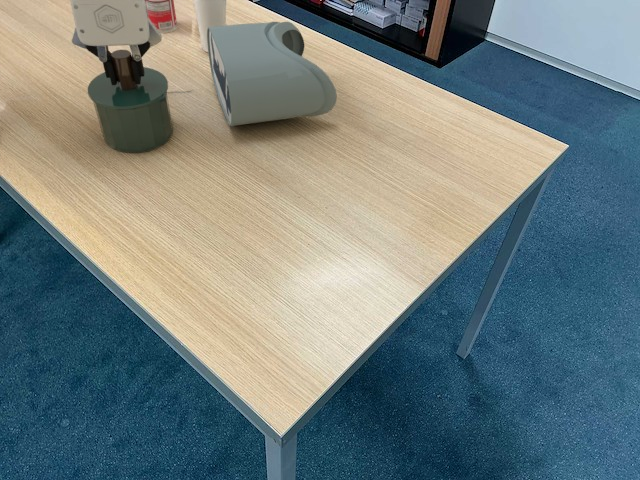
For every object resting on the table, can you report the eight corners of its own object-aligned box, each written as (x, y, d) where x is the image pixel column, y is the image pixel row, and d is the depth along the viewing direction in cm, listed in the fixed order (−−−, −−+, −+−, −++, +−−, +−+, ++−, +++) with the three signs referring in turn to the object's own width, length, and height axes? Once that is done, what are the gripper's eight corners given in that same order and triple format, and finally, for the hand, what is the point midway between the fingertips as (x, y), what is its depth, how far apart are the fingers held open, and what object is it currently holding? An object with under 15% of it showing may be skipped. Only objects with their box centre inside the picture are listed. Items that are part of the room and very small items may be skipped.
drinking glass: (213, 38, 121) (206, -33, 110) (236, 48, 119) (232, -24, 108) (191, 49, 117) (182, -23, 106) (215, 59, 115) (208, -14, 104)
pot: (100, 155, 91) (87, 111, 85) (107, 116, 99) (96, 73, 92) (171, 151, 92) (164, 107, 86) (173, 112, 100) (166, 70, 94)
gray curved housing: (210, 78, 109) (204, 15, 100) (301, 68, 114) (303, 7, 105) (233, 142, 95) (228, 75, 86) (336, 127, 100) (341, 62, 90)
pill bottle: (161, 21, 126) (153, -30, 118) (183, 27, 124) (176, -23, 116) (143, 31, 122) (134, -20, 114) (166, 38, 120) (157, -14, 112)
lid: (84, 114, 84) (72, 76, 80) (94, 73, 93) (83, 36, 88) (167, 110, 86) (161, 72, 82) (169, 70, 95) (163, 34, 90)
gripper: (30, -30, 71) (70, 95, 84) (159, -31, 74) (178, 90, 87) (41, -50, 76) (77, 70, 89) (161, -51, 79) (179, 67, 92)
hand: (126, 79), depth 88 cm, fingers closed on lid, 3 cm apart
